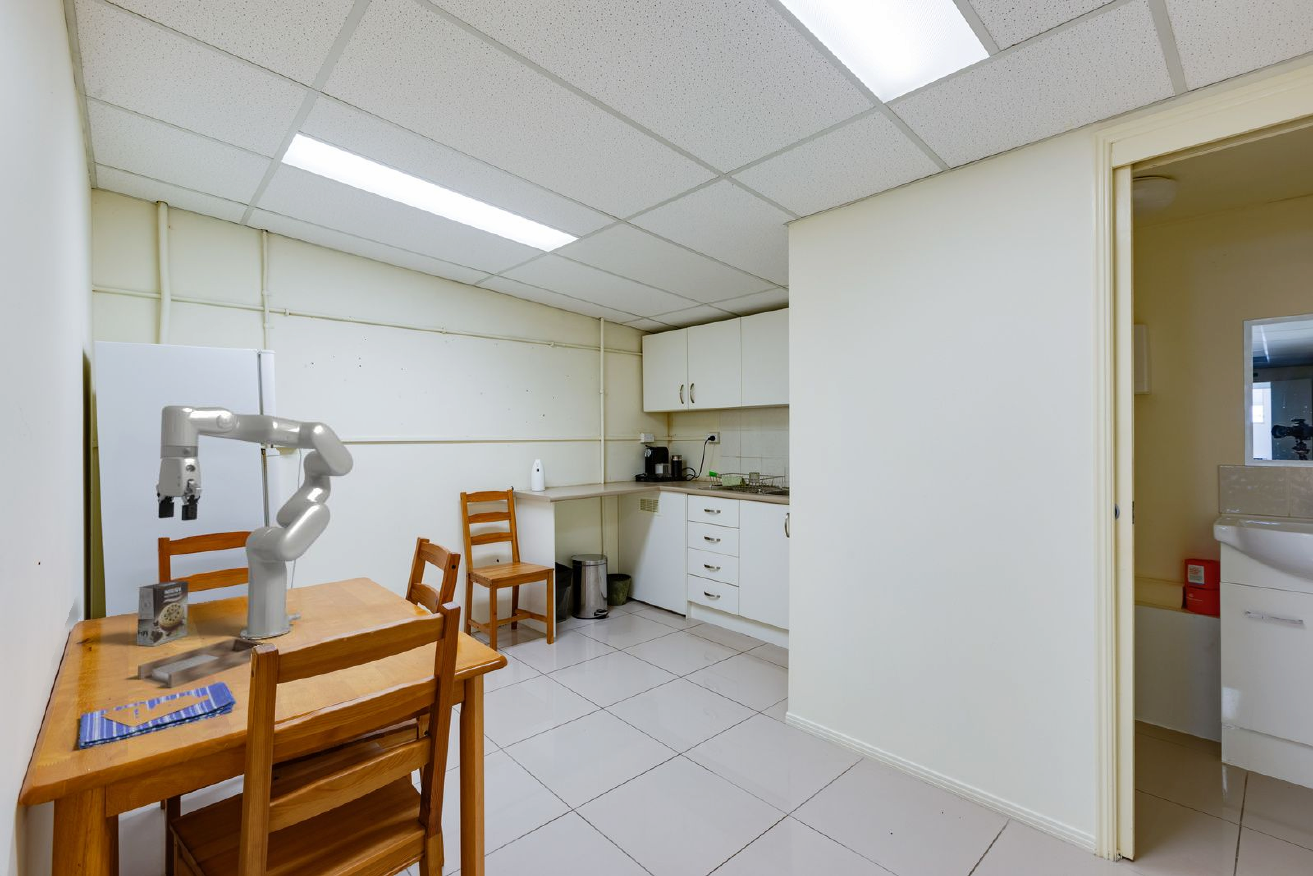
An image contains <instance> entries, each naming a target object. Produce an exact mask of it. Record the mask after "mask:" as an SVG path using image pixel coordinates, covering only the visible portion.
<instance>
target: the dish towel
mask: <svg viewBox="0 0 1313 876" xmlns="http://www.w3.org/2000/svg"><path fill="white" fill-rule="evenodd" d="M186 696H193V698H202V697H204V696H207V697H208V699H206V700H204V701H200V702H198V703H197V702H196V703H195V704H192V705H189V706H187V707H184V708H181V709H178V710H175V711H173V712H170V713H168V714H165V715H162V716H160V717H157V718H154V719H151V720H149V721H147V722H144V723H141V724H138V725H135V726H131V725H128V724H125V723H122V722H118V721H116V720H113V719H110V718H107V717H104V716H103V715H106V714H107V712H108V711H110V710H111V709H104V710H103V709H100V710H96V711H92V712H87V713H81V715H80V725H81V727H79V734H80V736H79V735H78V749H79V751H82V750H83V749H88V748H95V747H94V746H96V747H99V745H100V746H103V744H104V745H106V744H107V743H108V744H111V743H110V742H112V743H117V742H120V741H122V740H123V741H124V740H127V738H128V739H131V737H132V738H136V737H139V736H143V735H147V734H152V733H151V732H153V733H157V732H159V731H163V730H168V729H167V728H169V729H172V728H176V727H179V725H180V726H183V725H182V724H184V725H186V724H185V723H188V724H192V722H193V723H196V721H197V722H200V721H199V720H201V721H203V720H202V719H205V720H208V718H209V719H211V718H212V717H213V718H216V717H215V716H217V717H219V716H218V715H219V714H224V715H226V714H225V713H227V714H230V713H231V711H232V712H233V709H232V708H233V707H234V705H235V704H237V701H236V699H235V698H234V696H233V695H232V693H231V691H230V689H229V687H228V685H226V683H225V682H224V681H223V682H222V681H219V682H216V683H213V684H210V685H207V686H204V687H200V688H195V689H191V690H188V691H185V692H179V693H175V694H170V695H164V696H161V697H160V696H159V697H158V698H157V697H156V698H153V699H148V700H145V701H139V702H135V703H129V704H126V705H122V706H117V707H114V708H113V710H114V711H120V710H122V709H126V708H132V707H136V706H139V705H140V706H141V705H142V704H144V705H146V707H145V708H146V711H150V710H152V709H154V708H155V707H156V706H157V705H160V704H162V703H165V702H167V701H173V700H175V699H177V698H181V697H186ZM167 706H168V707H169V706H171V704H168V705H167ZM140 709H141V708H140V707H139V708H136V709H135V710H134V711H133V716H134V718H133V720H135V719H138V718H140V717H141V715H140V712H138V711H139V710H140ZM229 712H230V713H229ZM137 715H139V716H137ZM79 737H80V739H79ZM119 740H120V741H119ZM108 744H107V745H108Z"/></svg>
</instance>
